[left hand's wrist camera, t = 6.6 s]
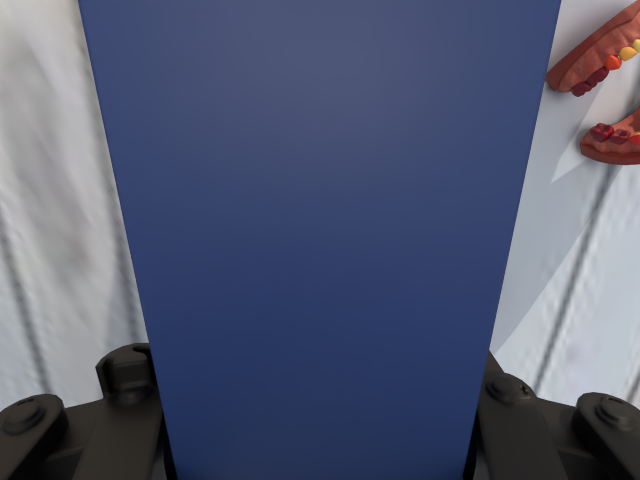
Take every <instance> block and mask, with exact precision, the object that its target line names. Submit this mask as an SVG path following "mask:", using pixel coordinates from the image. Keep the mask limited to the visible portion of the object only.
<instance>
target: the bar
mask: <svg viewBox="0 0 640 480" xmlns="http://www.w3.org/2000/svg"><path fill="white" fill-rule="evenodd" d="M78 3H79V8H80V13H81V18H82V22H83V27H84V32H85V37H86V42H87V47H88V51H89V56H90V61H91V66H92V71H93V75H94V80H95V85H96V90H97V95H98V99H99V104H100V109H101V114H102V119H103V124H104V128H105V133H106V138H107V143H108V148H109V152H110V157H111V162H112V167H113V172H114V177H115V181H116V186H117V191H118V196H119V201H120V205H121V210H122V215H123V220H124V225H125V229H126V234H127V239H128V244H129V249H130V254H131V258H132V263H133V268H134V273H135V278H136V282H137V287H138V292H139V297H140V302H141V306H142V311H143V316H144V321H145V326H146V331H147V335H148V340H149V345H150V350H151V355H152V359H153V364H154V369H155V374H156V379H157V384H158V388H159V393H160V398H161V403H162V408H163V412H164V417H165V422H166V427H167V432H168V436H169V441H170V446H171V451H172V456H173V461H174V465H175V470H176V475H177V480H462V477H463V472H464V468H465V463H466V458H467V453H468V448H469V443H470V439H471V434H472V429H473V424H474V419H475V414H476V410H477V405H478V400H479V395H480V390H481V386H482V381H483V376H484V371H485V366H486V361H487V357H488V352H489V347H490V342H491V337H492V332H493V328H494V323H495V318H496V313H497V308H498V304H499V299H500V294H501V289H502V284H503V279H504V275H505V270H506V265H507V260H508V255H509V250H510V246H511V241H512V236H513V231H514V226H515V221H516V217H517V212H518V207H519V202H520V197H521V193H522V188H523V183H524V178H525V173H526V168H527V164H528V159H529V154H530V149H531V144H532V139H533V135H534V130H535V125H536V120H537V115H538V111H539V106H540V101H541V96H542V91H543V86H544V82H545V77H546V72H547V67H548V62H549V57H550V53H551V48H552V43H553V38H554V33H555V29H556V24H557V19H558V14H559V9H560V4H561V0H78Z"/></svg>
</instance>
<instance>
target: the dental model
mask: <svg viewBox="0 0 640 480" xmlns="http://www.w3.org/2000/svg"><path fill="white" fill-rule="evenodd" d="M631 47H632V48H631ZM637 52H638V53H639V52H640V0H637V1H635V2H634V3H632V4H631V5H630V6H628V7H627V8H625V9H624V10H623V11H621V12H620V13H619V14H618V15H616V16H615V17H614V18H612V19H611V20H610V21H608V22H607V23H606V24H605V25H603V26H602V27H601V28H599V29H598V30H597V31H596V32H594V33H593V34H592V35H590V36H589V37H588V38H587V39H585V40H584V41H583V42H582V43H581V44H579V45H578V46H577V47H576V48H575V49H573V50H572V51H571V52H570V53H569V54H568V55H566V56H565V57H564V58H563V59H562V60H561V61H559V62H558V63H557V64H556V65H555V66H554V67H553V68H552V69H551V70H550V71H549V72H548V73H547V74H546V77H545V80H546V81H547V82H548V84H549V85H550V86H551V87H552V88H553V90H554V91H555V90H558V91H561V92H569V91H571V92H572V94H573V95H575V96H577V97H580V96H582V95H584V93H585V92H588V91H590V90H591V89H592V88H593V87H595V86H596V85H597V82H601V81H603V80H604V79H605V78H606V77H607V75H608V73H609V70H615V69H619V68H620V66H621V64H622V61H621V60H623V61H627V60H629V59H630V58H632V57H633V56H635V55H636V54H637ZM617 56H619V57H620V58H621V59H620V58H618V57H617ZM580 147H581V152H582V154H583V155H584V156H586V157H589V158H591V159H593V160H596V161H600V162H604V163H608V164H617V165H636V164H640V107H639V108H638V109H637V110H636V111H635V112H634V113H632V114H631V115H630V116H628V117H627V118H625V119H624V120H622V121H621V122H619V123H617V124H615V125H612V126H611V125H606V124H602V123H599V124H597V125H596V126H594V127H592V128H591V129H590V130H589V131H588V132H587V133H586V135H585V136H584V138H583V139H582V141H581V142H580Z"/></svg>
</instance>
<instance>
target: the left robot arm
mask: <svg viewBox="0 0 640 480" xmlns="http://www.w3.org/2000/svg"><path fill="white" fill-rule="evenodd" d="M95 368H96V371H97V375H98V379H99V382H100V386H101V389H102V393H103V396H104V397H103V399H100V400H97V401H94V402H90V403H86V404H81V405H77V406H73V407H69V408H65V407H64V404H63V401H62V400H61V399H60V398H59V397H58V396H57V395H52V394H41V395H34V396H31V397H28V398H25V399H22V400H20V401H18V402H16V403H14V404H12V405H10V406H8V407H7V408H5V409H4V410H2V411H1V412H0V480H177V475H176V470H175V465H174V461H173V456H172V451H171V446H170V441H169V436H168V432H167V427H166V422H165V417H164V412H163V408H162V403H161V398H160V393H159V388H158V384H157V379H156V374H155V369H154V364H153V359H152V355H151V350H150V345H149V343H134V344H130V345H126V346H122V347H120V348H118V349H116V350H114V351H112V352H110V353H109V354H107V355H106V356H105V357H103V358H102V359H101V360H100V361H99V363H98V364H97V365H96V367H95ZM462 480H640V410H639V409H637V408H636V407H635V406H633V405H631V404H629V403H627V402H626V401H624V400H622V399H620V398H617V397H614V396H611V395H608V394H603V393H596V392H591V393H585V394H583V395H582V396H580V397H579V398H578V400H577V403H576V406H575V407H574V406H569V405H565V404H561V403H557V402H552V401H548V400H544V399H541V398H538V397H536V395H535V393H534V392H533V390H532V389H531V387H529V386H528V385H527V384H526V383H525V382H523V381H522V380H521V379H519V378H517V377H515V376H513V375H511V374H508V373H504V371H503V370H502V368H501V367H500V365H499V364H498V362H497V361H496V359H495V358H494V357H493V355H492V354H491V352H490V351H489V352H488V357H487V361H486V366H485V371H484V376H483V381H482V386H481V390H480V395H479V400H478V405H477V410H476V414H475V419H474V424H473V429H472V434H471V439H470V443H469V448H468V453H467V458H466V463H465V468H464V472H463V477H462Z"/></svg>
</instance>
